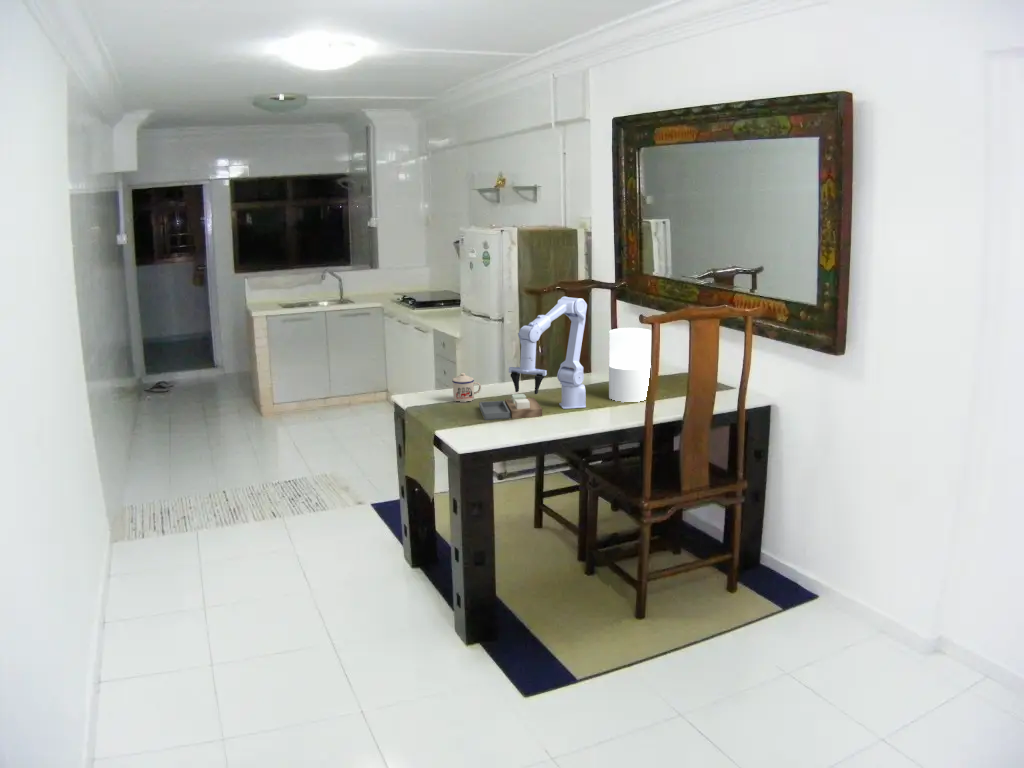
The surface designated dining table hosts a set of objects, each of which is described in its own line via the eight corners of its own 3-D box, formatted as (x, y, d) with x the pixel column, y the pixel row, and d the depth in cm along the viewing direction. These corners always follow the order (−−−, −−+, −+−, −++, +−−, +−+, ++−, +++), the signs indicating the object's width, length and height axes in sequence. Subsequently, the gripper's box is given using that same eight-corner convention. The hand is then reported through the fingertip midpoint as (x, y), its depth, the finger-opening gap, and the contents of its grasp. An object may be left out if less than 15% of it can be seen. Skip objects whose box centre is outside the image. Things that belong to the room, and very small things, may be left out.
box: (503, 406, 343) (503, 400, 342) (510, 418, 325) (510, 412, 325) (479, 408, 341) (479, 402, 341) (484, 420, 324) (484, 414, 323)
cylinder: (605, 393, 360) (606, 328, 354) (645, 391, 361) (646, 327, 355) (612, 403, 344) (613, 335, 337) (654, 402, 345) (655, 334, 338)
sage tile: (524, 399, 341) (523, 393, 340) (526, 402, 336) (526, 396, 336) (511, 400, 340) (511, 394, 340) (513, 403, 335) (513, 397, 335)
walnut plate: (534, 404, 344) (534, 397, 344) (542, 416, 327) (542, 409, 326) (505, 406, 343) (504, 399, 342) (511, 418, 325) (511, 411, 325)
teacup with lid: (454, 403, 349) (453, 376, 346) (451, 398, 358) (450, 371, 355) (483, 401, 351) (482, 374, 348) (479, 396, 360) (478, 369, 357)
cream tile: (527, 405, 333) (527, 398, 332) (529, 408, 328) (529, 402, 327) (515, 405, 332) (514, 399, 331) (517, 409, 327) (517, 402, 327)
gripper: (506, 357, 318) (505, 392, 321) (543, 360, 314) (541, 396, 316) (512, 354, 325) (511, 389, 327) (548, 358, 320) (546, 393, 323)
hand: (526, 392), depth 322 cm, fingers open, 7 cm apart
